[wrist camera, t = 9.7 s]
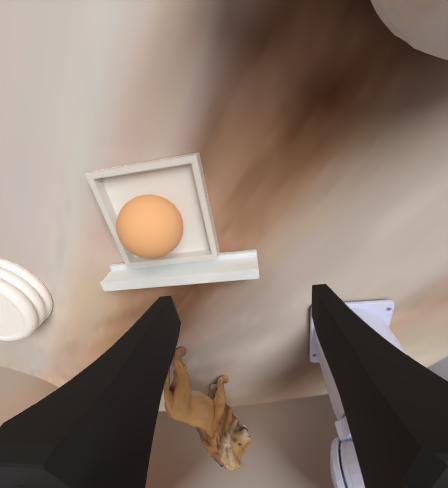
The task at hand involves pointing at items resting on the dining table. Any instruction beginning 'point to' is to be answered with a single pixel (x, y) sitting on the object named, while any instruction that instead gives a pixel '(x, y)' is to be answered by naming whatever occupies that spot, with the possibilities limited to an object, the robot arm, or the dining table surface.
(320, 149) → the dining table surface
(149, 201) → the ball
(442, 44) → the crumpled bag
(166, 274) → the white picture ledge
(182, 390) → the lion figurine
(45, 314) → the coaster
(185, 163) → the tray
